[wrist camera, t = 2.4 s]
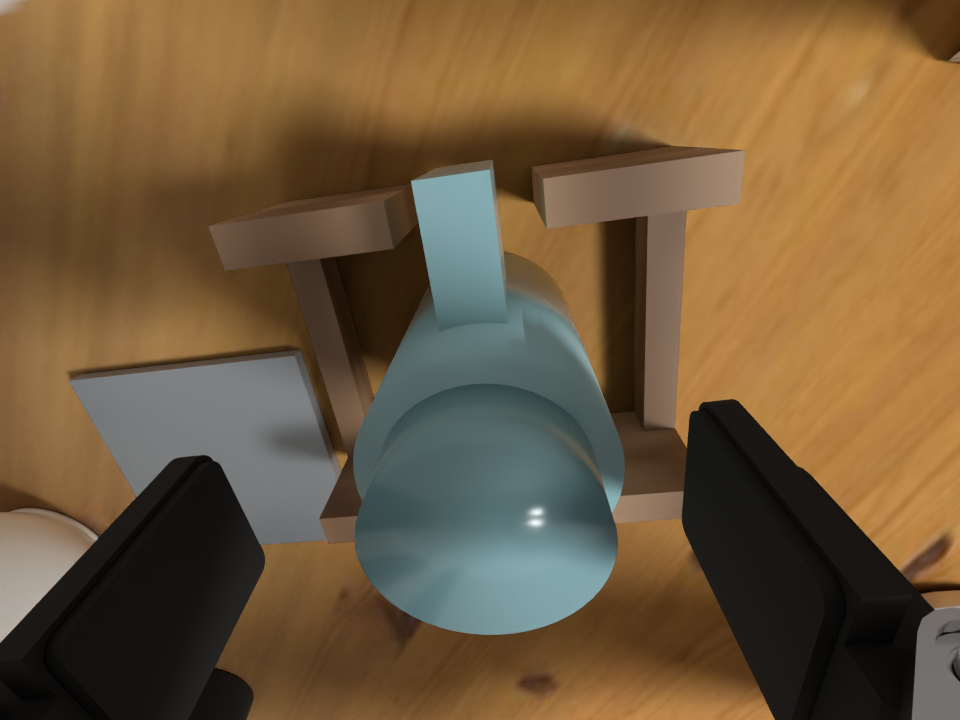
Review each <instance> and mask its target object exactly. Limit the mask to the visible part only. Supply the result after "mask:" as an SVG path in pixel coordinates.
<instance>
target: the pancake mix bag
mask: <svg viewBox="0 0 960 720" xmlns="http://www.w3.org/2000/svg"><path fill="white" fill-rule="evenodd" d="M949 61H951V62H957V63H960V51H959V52H958V53H957V54H956V55H954V56H953V57H952V58H951V59H950V60H949Z"/></svg>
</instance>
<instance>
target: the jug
mask: <svg viewBox="0 0 960 720" xmlns="http://www.w3.org/2000/svg"><path fill="white" fill-rule="evenodd" d="M411 184H412V189H413V195H414V200H415V205H416V211H417V216H418V221H419V227H420V232H421V237H422V243H423V248H424V253H425V259H426V264H427V269H428V275H429V280H430V285H429V287H428V288H427V290H426V291H425V294H424V296H423V298H422V300H421V302H420V304H419V306H418V308H417V310H416V312H415V314H414V316H413V319H412V321H411V323H410V325H409V327H408V329H407V331H406V333H405V335H404V337H403V339H402V341H401V344H400V346H399V348H398V350H397V352H396V354H395V356H394V358H393V360H392V362H391V364H390V366H389V369H388V371H387V373H386V375H385V377H384V379H383V381H382V383H381V385H380V387H379V389H378V391H377V394H376V396H375V398H374V400H373V402H372V404H371V406H370V408H369V410H368V412H367V414H366V416H365V418H364V421H363V423H362V425H361V427H360V430H359V432H358V435H357V439H356V442H355V446H354V455H353V469H354V478H355V482H356V486H357V490H358V492H359V495H360V497H361V500H362V504H361V506H360V509H359V512H358V516H357V519H356V524H355V534H354V536H355V548H356V552H357V555H358V559H359V562H360V564H361V566H362V568H363V571H364V572H365V574H366V575H367V577H368V579H369V580H370V582H371V583H372V584H373V585H374V587H375V588H376V589H377V590H378V591H379V592H380V593H381V594H382V595H383V596H384V597H385V598H386V599H387V600H388V601H390V602H391V603H392V604H394V605H395V606H396V607H398V608H399V609H401V610H402V611H404V612H406V613H407V614H409V615H411V616H413V617H415V618H417V619H419V620H421V621H424V622H426V623H429V624H431V625H434V626H437V627H440V628H444V629H448V630H452V631H457V632H463V633H469V634H481V635H502V634H513V633H519V632H525V631H530V630H534V629H537V628H541V627H545V626H547V625H550V624H552V623H555V622H558V621H560V620H562V619H563V618H565V617H567V616H569V615H571V614H573V613H574V612H576V611H577V610H579V609H580V608H582V607H583V606H584V605H585V604H587V603H588V602H589V601H590V600H591V599H592V598H593V597H594V596H595V595H596V594H597V593H598V592H599V591H600V590H601V588H602V587H603V585H604V584H605V582H606V581H607V579H608V578H609V576H610V573H611V571H612V569H613V567H614V563H615V560H616V556H617V546H618V538H617V529H616V526H615V522H614V519H613V515H612V512H613V510H614V509H615V507H616V504H617V502H618V500H619V497H620V495H621V491H622V487H623V483H624V473H625V461H624V452H623V448H622V444H621V440H620V437H619V434H618V432H617V429H616V427H615V424H614V422H613V419H612V417H611V414H610V412H609V409H608V407H607V404H606V402H605V399H604V397H603V394H602V391H601V389H600V386H599V384H598V381H597V379H596V376H595V374H594V371H593V369H592V366H591V364H590V361H589V359H588V356H587V354H586V351H585V349H584V346H583V344H582V341H581V338H580V336H579V333H578V331H577V328H576V326H575V323H574V321H573V318H572V316H571V313H570V311H569V308H568V306H567V303H566V301H565V298H564V296H563V294H562V292H561V290H560V288H559V287H558V285H557V283H556V282H555V281H554V280H553V279H552V277H551V276H550V275H549V274H548V273H547V272H545V271H544V270H543V269H542V268H541V267H539V266H538V265H536V264H535V263H533V262H531V261H529V260H527V259H525V258H522V257H520V256H517V255H513V254H508V253H503V244H502V236H501V227H500V218H499V209H498V201H497V192H496V183H495V174H494V166H493V160H486V161H479V162H472V163H465V164H459V165H452V166H445V167H438V168H436V169H434V170H432V171H430V172H428V173H426V174H424V175H422V176H420V177H418V178H416V179H414V180H412V181H411Z"/></svg>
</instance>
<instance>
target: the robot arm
mask: <svg viewBox="0 0 960 720" xmlns="http://www.w3.org/2000/svg"><path fill="white" fill-rule="evenodd" d="M682 524H683V528H684V531H685V534H686V537H687V539H688V541H689V543H690V545H691V547H692V549H693V551H694V553H695V555H696V557H697V559H698V561H699V563H700V566H701V568H702V570H703V572H704V574H705V576H706V578H707V580H708V582H709V584H710V586H711V588H712V590H713V592H714V595H715V597H716V599H717V601H718V603H719V605H720V607H721V609H722V611H723V613H724V615H725V617H726V619H727V621H728V624H729V626H730V628H731V630H732V632H733V634H734V636H735V638H736V640H737V642H738V644H739V646H740V648H741V650H742V653H743V655H744V657H745V659H746V661H747V663H748V665H749V667H750V669H751V671H752V673H753V675H754V677H755V679H756V682H757V684H758V686H759V688H760V690H761V692H762V694H763V696H764V698H765V700H766V702H767V704H768V706H769V708H770V711H771V713H772V715H773V717H774V718H775V720H960V590H952V591H934V592H928V593H922V594H920V593H919V592H918V591H917V590H916V589H915V588H914V587H913V586H912V584H911V583H910V582H909V581H908V580H907V579H906V578H905V577H904V576H903V575H902V574H901V573H900V571H899V570H898V569H897V568H896V567H895V566H894V565H893V564H892V563H891V562H890V561H889V559H888V558H887V557H886V556H885V555H884V554H883V553H882V552H881V551H880V550H879V549H878V548H877V546H876V545H875V544H874V543H873V542H872V541H871V540H870V539H869V538H868V537H867V536H866V535H865V533H864V532H863V531H862V530H861V529H860V528H859V527H858V526H857V525H856V524H855V523H854V521H853V520H852V519H851V518H850V517H849V516H848V515H847V514H846V513H845V512H844V511H843V510H842V508H841V507H840V506H839V505H838V504H837V503H836V502H835V501H834V500H833V499H832V498H831V497H830V495H829V494H828V493H827V492H826V491H825V490H824V489H823V488H822V487H821V486H820V485H819V483H818V482H817V481H816V480H815V479H814V478H813V477H812V476H811V475H810V474H809V473H808V472H807V471H805V470H804V469H803V468H800V467H798V466H796V464H795V463H794V462H793V461H792V460H791V459H790V458H789V457H788V456H787V455H786V453H785V452H784V451H783V450H782V449H781V448H780V447H779V446H778V445H777V443H776V442H775V441H774V440H773V439H772V438H771V437H770V436H769V435H768V434H767V432H766V431H765V430H764V429H763V428H762V427H761V426H760V425H759V424H758V422H757V421H756V420H755V419H754V418H753V417H752V416H751V415H750V414H749V413H748V411H747V410H746V409H745V408H744V407H743V406H742V405H741V404H740V403H739V402H738V401H737V400H734V399H731V400H721V401H712V402H703V403H702V404H701V405H700V407H699V411H693V412H691V414H690V419H689V432H688V444H687V456H686V469H685V481H684V493H683V506H682ZM264 564H265V555H264V552H263V550H262V548H261V546H260V544H259V542H258V539H257V537H256V535H255V533H254V531H253V529H252V527H251V525H250V523H249V521H248V519H247V517H246V515H245V513H244V511H243V509H242V507H241V505H240V503H239V501H238V499H237V497H236V495H235V493H234V491H233V489H232V487H231V485H230V483H229V481H228V479H227V477H226V475H225V473H224V471H223V469H222V467H221V465H220V464H219V463H218V462H216V461H213V459H212V458H211V457H209V456H207V455H198V456H188V457H179V458H175V459H173V460H172V461H171V462H169V463H168V465H167V466H166V467H165V468H164V469H163V470H162V471H161V472H160V473H159V474H158V475H157V476H156V477H155V478H154V479H153V481H152V482H151V483H150V484H149V485H148V486H147V487H146V488H145V489H144V490H143V491H142V492H141V493H140V494H139V495H138V497H137V498H136V499H135V500H134V501H133V502H132V503H131V504H130V505H129V506H128V507H127V508H126V509H125V510H124V511H123V513H122V514H121V515H120V516H119V517H118V518H117V519H116V520H115V521H114V522H113V523H112V524H111V525H110V526H109V527H108V529H107V530H106V531H105V532H104V533H103V534H102V535H101V536H100V537H99V538H98V539H97V540H96V541H95V542H94V543H93V544H92V546H91V547H90V548H89V549H88V550H87V551H86V552H85V553H84V554H83V555H82V556H81V557H80V558H79V559H78V560H77V562H76V563H75V564H74V565H73V566H72V567H71V568H70V569H69V570H68V571H67V572H66V573H65V574H64V575H63V576H62V578H61V579H60V580H59V581H58V582H57V583H56V584H55V585H54V586H53V587H52V588H51V589H50V590H49V591H48V592H47V594H46V595H45V596H44V597H43V598H42V599H41V600H40V601H39V602H38V603H37V604H36V605H35V606H34V607H33V608H32V610H31V611H30V612H29V613H28V614H27V615H26V616H25V617H24V618H23V619H22V620H21V621H20V622H19V623H18V624H17V625H16V627H15V628H14V629H13V630H12V631H11V632H10V633H9V634H8V635H7V636H6V637H5V638H4V639H3V640H2V641H1V643H0V720H188V719H189V717H190V715H191V713H192V711H193V709H194V707H195V705H196V703H197V701H198V699H199V697H200V695H201V693H202V691H203V689H204V687H205V685H206V683H207V681H208V679H209V677H210V675H211V673H212V671H213V669H214V667H215V665H216V663H217V661H218V659H219V657H220V655H221V653H222V651H223V649H224V647H225V645H226V643H227V641H228V639H229V637H230V635H231V633H232V631H233V629H234V627H235V625H236V623H237V621H238V619H239V617H240V615H241V613H242V611H243V609H244V607H245V605H246V603H247V601H248V599H249V597H250V595H251V593H252V591H253V590H254V588H255V586H256V584H257V582H258V580H259V578H260V576H261V574H262V571H263V569H264Z"/></svg>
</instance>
